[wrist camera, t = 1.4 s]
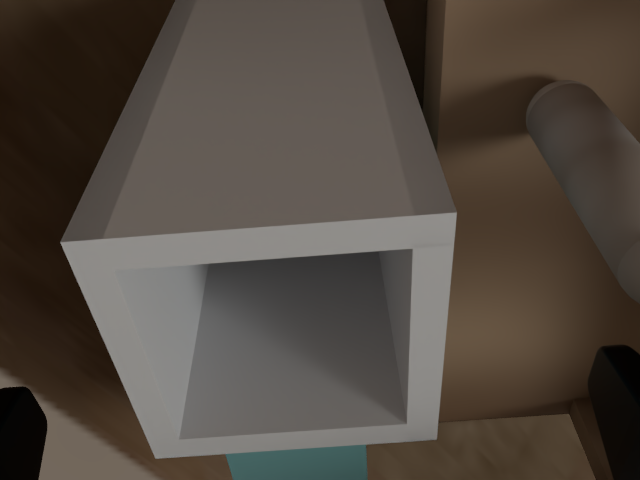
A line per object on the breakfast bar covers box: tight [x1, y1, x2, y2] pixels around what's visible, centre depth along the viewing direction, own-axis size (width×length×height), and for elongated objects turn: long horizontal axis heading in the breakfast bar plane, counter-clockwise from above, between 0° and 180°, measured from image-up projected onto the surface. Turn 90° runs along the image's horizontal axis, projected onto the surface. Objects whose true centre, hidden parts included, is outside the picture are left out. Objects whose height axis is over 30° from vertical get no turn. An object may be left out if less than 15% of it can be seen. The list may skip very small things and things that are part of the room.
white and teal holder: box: [60, 0, 457, 480], centre depth 10 cm, size 10×3×7 cm, turn 4°
